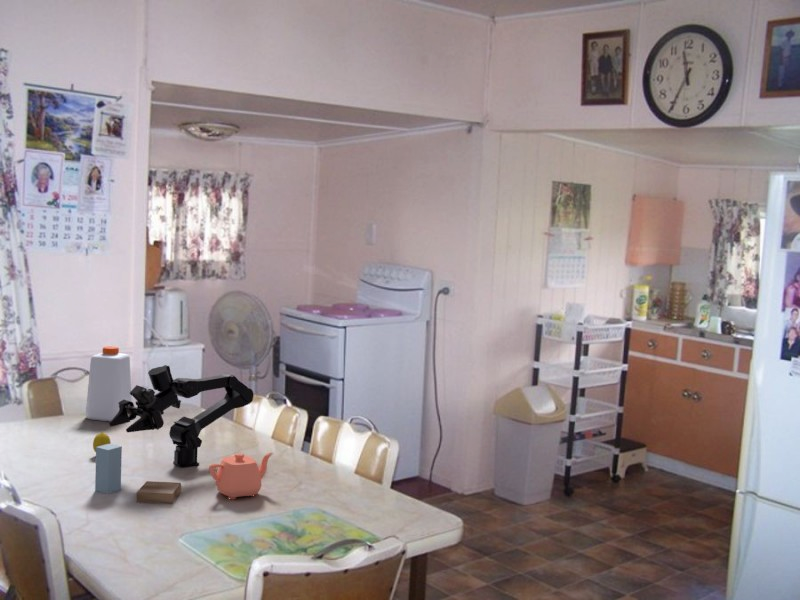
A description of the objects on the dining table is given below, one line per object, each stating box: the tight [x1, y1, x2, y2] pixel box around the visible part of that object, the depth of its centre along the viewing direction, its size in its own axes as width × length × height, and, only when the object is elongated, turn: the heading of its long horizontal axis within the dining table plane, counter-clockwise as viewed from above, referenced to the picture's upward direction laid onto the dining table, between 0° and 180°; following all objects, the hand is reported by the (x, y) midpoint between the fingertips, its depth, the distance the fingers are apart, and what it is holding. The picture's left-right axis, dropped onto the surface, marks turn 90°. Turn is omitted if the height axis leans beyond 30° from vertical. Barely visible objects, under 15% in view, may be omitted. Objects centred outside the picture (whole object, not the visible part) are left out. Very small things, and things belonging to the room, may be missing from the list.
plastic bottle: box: [85, 345, 133, 422], centre depth 327 cm, size 15×15×28 cm
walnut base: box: [135, 480, 182, 505], centre depth 238 cm, size 10×10×3 cm
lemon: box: [92, 432, 112, 453], centre depth 275 cm, size 6×6×8 cm
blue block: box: [94, 443, 123, 495], centre depth 241 cm, size 5×5×13 cm
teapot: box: [208, 452, 274, 500], centre depth 244 cm, size 13×20×12 cm, turn 122°
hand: (118, 428), depth 250 cm, fingers open, 9 cm apart
